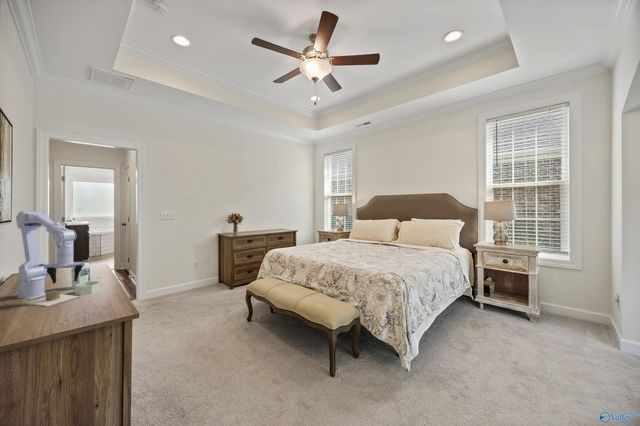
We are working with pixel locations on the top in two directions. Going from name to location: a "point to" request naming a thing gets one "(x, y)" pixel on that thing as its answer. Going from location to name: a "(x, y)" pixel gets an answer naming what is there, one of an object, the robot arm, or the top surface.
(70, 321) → the top surface
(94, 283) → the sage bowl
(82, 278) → the syrup box
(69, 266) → the robot arm
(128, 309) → the top surface
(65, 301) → the charcoal mat
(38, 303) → the cover sheet
